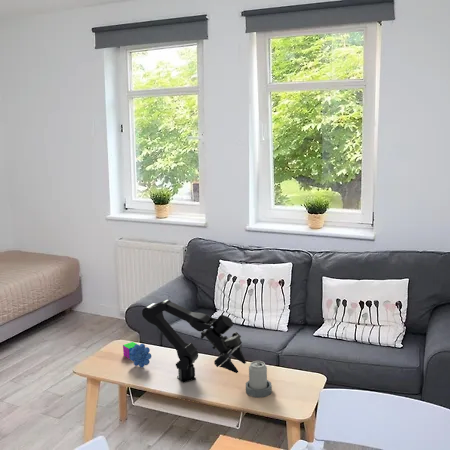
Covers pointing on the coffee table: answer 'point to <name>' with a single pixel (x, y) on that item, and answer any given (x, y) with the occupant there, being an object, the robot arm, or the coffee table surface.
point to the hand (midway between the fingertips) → (241, 367)
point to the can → (257, 375)
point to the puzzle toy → (128, 349)
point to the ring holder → (259, 391)
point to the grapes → (140, 355)
